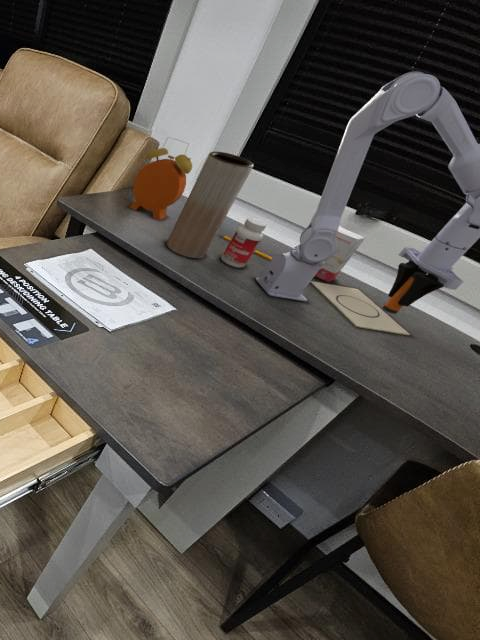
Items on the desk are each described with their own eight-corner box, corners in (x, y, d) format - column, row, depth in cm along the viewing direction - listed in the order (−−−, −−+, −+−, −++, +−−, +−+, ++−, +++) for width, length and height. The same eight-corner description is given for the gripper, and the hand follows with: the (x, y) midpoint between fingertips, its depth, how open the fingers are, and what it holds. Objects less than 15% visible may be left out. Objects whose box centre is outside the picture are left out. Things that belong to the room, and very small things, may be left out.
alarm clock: (172, 218, 136) (205, 146, 122) (164, 222, 132) (197, 148, 119) (132, 202, 141) (160, 131, 128) (124, 205, 137) (152, 133, 124)
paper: (355, 326, 101) (357, 325, 101) (310, 282, 116) (311, 280, 116) (409, 335, 102) (410, 334, 102) (357, 290, 117) (358, 288, 117)
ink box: (334, 279, 120) (367, 237, 112) (326, 283, 117) (359, 240, 109) (303, 264, 124) (332, 222, 116) (294, 267, 122) (324, 224, 114)
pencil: (283, 267, 121) (285, 265, 120) (222, 238, 130) (223, 235, 130) (285, 266, 121) (286, 264, 121) (223, 237, 131) (224, 235, 130)
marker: (387, 312, 100) (421, 276, 94) (379, 305, 102) (411, 270, 96) (399, 315, 100) (433, 279, 94) (390, 307, 102) (423, 272, 96)
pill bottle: (217, 260, 117) (241, 219, 110) (224, 254, 121) (247, 214, 113) (241, 270, 115) (267, 229, 107) (247, 264, 118) (272, 223, 111)
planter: (208, 252, 120) (258, 162, 105) (197, 262, 114) (248, 168, 99) (173, 237, 124) (216, 149, 109) (160, 247, 118) (204, 154, 103)
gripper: (499, 263, 85) (438, 322, 94) (443, 231, 96) (393, 286, 105) (465, 257, 85) (407, 317, 94) (412, 225, 95) (365, 282, 104)
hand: (397, 300), depth 99 cm, fingers closed on marker, 3 cm apart
